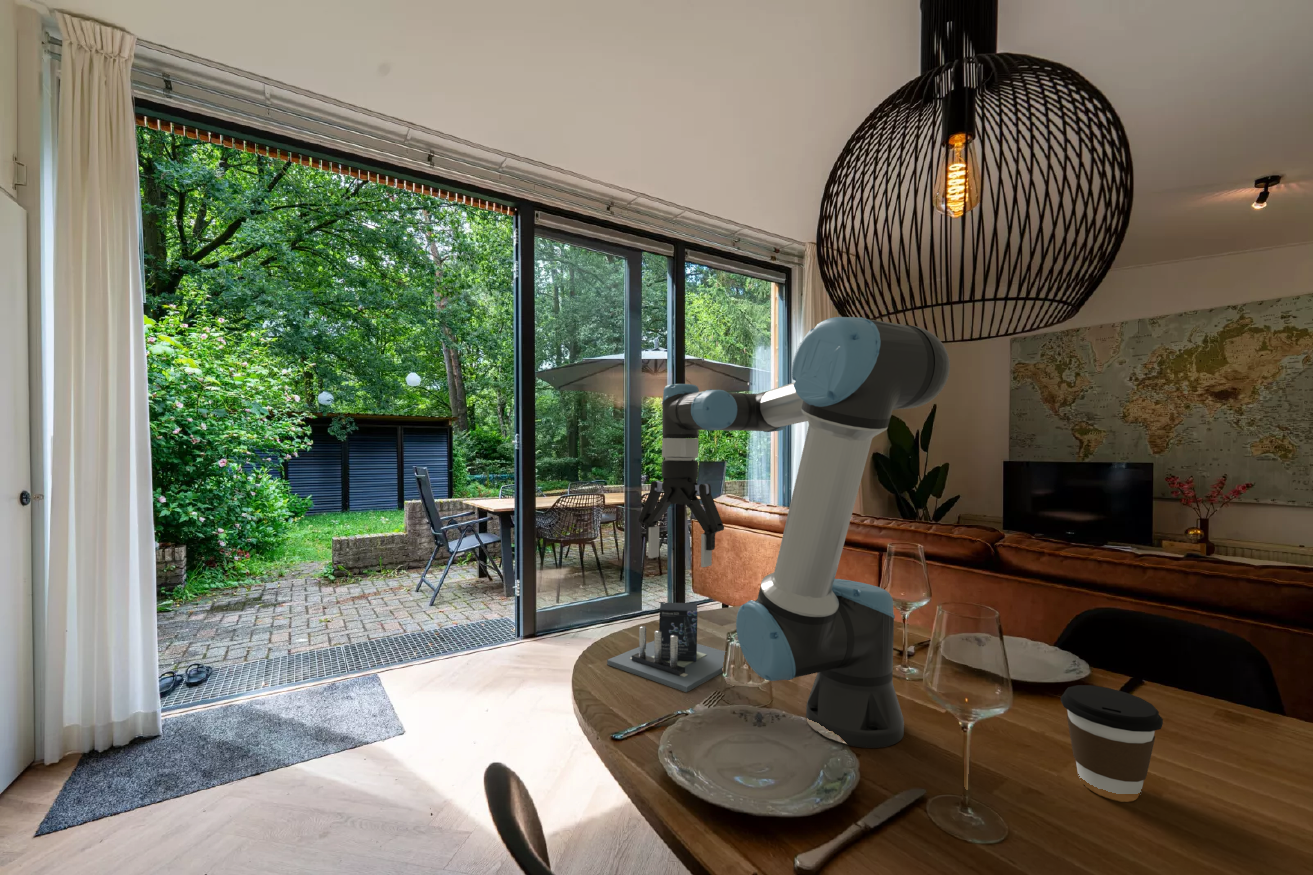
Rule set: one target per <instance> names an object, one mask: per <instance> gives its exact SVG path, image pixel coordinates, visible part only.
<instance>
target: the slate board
mask: <svg viewBox="0 0 1313 875" xmlns="http://www.w3.org/2000/svg"><path fill="white" fill-rule="evenodd" d="M654 644H655V639H654V640H652V641H650V642H646V656H650V657H653V658H654ZM725 652H726V651H725V650H722V649H718V648H714V647H710V646H706V645H703V644H699V643H697V660H696V662H693V661H677V665H678V666H681V667H684V668H685V673H683V674H681V675H680V676H677V675H674V674H671V673H668V672H665V671H662V670H659V669H656V668H653V667H650V666H647V665H644V664H641V663H638V662H635V661H632V655H634V654H637V653H639V646H637V647H635V648H632V649H630V650H627V651H625V652H623V653H620V654H618V655H616V656H613V657H611V658H608V659H607V662H606V665H607V666H609V667H613V668H616V669H618V670H621V671H624V672H627V673H630V674H633V675H634V676H635V675H636V676H639V677H641V678H645V679H647V680H650V681H654V682H656V683H659V684H662V685H665V686H667V687H671V688H673V689H676V690H679V691H682V692H685V693H688V692H690V691H691V690H693V689H695V688H697V687H699V686H700V685H702V684H704V683H706V682H708V681H710V680H711V679H713V678H715V677H717V676H718V675H721V674H722V673H723V672H722V668H723V662H724V655H725ZM662 661H665V662H668V663H670V660H662Z"/></svg>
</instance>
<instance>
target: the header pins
mask: <svg viewBox="0 0 1313 875" xmlns="http://www.w3.org/2000/svg"><path fill="white" fill-rule="evenodd" d="M638 628H639V631H638V633H639V635H638V637H639V640H638V647H639V653H637V654H634V655H632V661H635V662H638V663H641V664H644V665H647V666H650V667H653V668H656V669H659V670H662V671H665V672H668V673H671V674H674V675H677V676H680V675H681V674H683V673H685V668H684V667H681V666H678V665H677V656H678V635H671V644H670V663H668V662H665V661H662V660H661V646H662V631H660V630H659V629H657V630H656V629H655V630H654V640H655V644H654V658H653V657H650V656H646V644H647V626H645V625H640V626H639V627H638Z"/></svg>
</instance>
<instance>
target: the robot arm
mask: <svg viewBox="0 0 1313 875" xmlns="http://www.w3.org/2000/svg"><path fill="white" fill-rule="evenodd" d="M950 361H951V360H950V357H949V353H948V351H947V348H946V346H945V345H944V344H943V342H942V341H941V340H940V338H939V337H937V335H935V334H933V332H931V331H929V330H927V329H925V328H923V327H919V326H916V325H912V324H911V325H908V324H901V323H893V322H887V321H880V320H874V319H867V318H865V317H863V316H862V317H861V316H860V317H855V316H850V317H847V316H834V317H829V318H826V319H824V320H822V321H820V322H818V323H817V324H816V326H815V327H813V328H811V329H810V330H808V332H807V333H806V334H805V335H804V336H803V338H802V339H801V341H800V343H799V344H798V346H797V349H796V351H795V354H794V356H793V361H792V366H791V378H792V380H793V381H794V382H791V383H787V384H784V385H781V386H778V387H775V388H772V389H770V390H766V391H762V392H760V393H758V392H757V393H746V392H745V393H743V392H727V391H726V390H723V389H706V390H703V391H699V390H700V389H699V386H698V385H695V384H689V383H675V384H672V383H671V384H667V385H665V386H664V388H663V392H662V393H663V395H662V402H661V406H662V442H661V444H662V445H661V457H662V458H664V460H662V461H661V476H662V478H663V481H662V480H652V481H651V482H650V491H649V492H648V495H647V498H646V500H645V503H644V505H643V507H642V510H641V512H640V515H639V518H638V522H639V523H641V524H643V525H645V527H646V530H645V533H646V536H645V537H646V538H645V539H646V542H648V543H647V544H648V548H647V550H648V552H647V553H648V556H647V557H648V559H653V558H654V559H655V558H658V557H660V526H658V522H660V519H662V517H663V515H664V514H665V513H666V511H667V510H668V509H669V508H670V506H671V505H681V506H684V505H685V506H686V507H687V508H688V509H689V510H690V512H691V513H692V514H693V517H694V518H695V519H696V521H697V523H698V524H699V526H700V527H701V529H702V530H703V533H701V534H700V535H701V536H700V537H701V540H700V541H701V543H700V546H701V547H700V567H701V568H707V567H712V565H713V564H712V563H713V561H712V559H713V556H712V554H713V551H714V550H715V548H716V534H717V533H719V532H722V531H724V530H725V526H724V523H723V521H722V518H721V516H720V513H719V511H718V508H717V506H716V504H715V500H714V498H713V496H712V486H711V484H710V483H701V484H698V482H697V479H698V477H699V462H698V460H696V458H698V457H699V431H710V432H711V431H732V432H733V431H743V432H744V431H747V432H751V431H752V432H764V433H771V432H772V433H773V432H781V431H783V430H785V429H786V427H787V426H791V425H795V424H801V423H806V422H808V427H807V431H806V436H805V441H804V443H803V444H804V445H803V450H802V454H801V458H800V460H799V464H798V469H797V474H796V477H795V478H796V479H795V483H794V486H793V492H792V495H791V500H790V504H789V508H788V512H787V516H786V520H785V525H784V529H783V533H782V538H781V542H780V547H779V550H778V555H777V558H776V563H775V568H774V571H773V572H772V573H770V574H767V575H766V576H764V577H763V578H762V580H761V582H760V586H759V587H760V588H759V589H758V590H759V591H758V595H757V597H756V598H757V599H756V600H751V599H750V600H747V602H745V603H743V604H742V605H740V607H739V609H738V610H737V614H736V619H735V620H736V621H735V623H736V624H735V626H736V628H735V629H736V635H737V641H738V644H739V646H740V650H741V652H742V656H743V657H744V659H745V661H746V662H747V664H748V666H750V668H751V669H752V670H753V672H755V674H756V675H757V676H759V677H760V678H762V679H763V680H766V681H770V682H775V681H791V680H794V679H797V678H799V677H803V676H805V677H806V676H808V675H813V674H816V676H815V679H814V682H813V684H812V688H811V690H810V693H809V696H808V698H807V702H806V705H805V706H806V708H805V710H806V713H805V717H807V718H808V719H809V720H812V721H814V722H817V723H819V724H820V725H821V726H824V727H825V728H826V729H828V730H829V731H833V732H834V733H835V734H837V735H839V736H840V737H841V738H842V739H843V740H844V741H845V742H846V743H847V744H848V745H847V746H850V747H856V748H866V749H867V748H868V749H877V748H878V749H879V748H885V747H891V746H893V745H896V744H897V743H899V742H900V741H901V740H902V739H903V738H904V734H905V731H904V730H905V720H904V719H905V718H904V715H903V712H902V709H901V705H900V703H899V699H898V696H897V693H896V690H895V687H894V683H893V677H894V676H893V668H894V667H893V666H894V637H895V636H894V635H895V634H894V632H895V631H894V630H895V618H896V617H895V614H894V612H895V611H894V600H893V597H892V595H891V593H890V592H889V591H887V590H886V589H884V588H883V587H879V586H875V585H874V584H873V585H872V584H869V583H865V582H860V581H856V580H855V581H854V580H849V579H843V578H842V579H841V578H836V575H837V572H838V568H839V564H840V561H841V557H842V553H843V549H844V545H845V541H846V538H847V534H848V531H849V528H850V523H851V520H852V516H853V512H854V508H855V505H856V501H857V497H858V493H859V489H860V485H861V481H862V479H863V475H864V471H865V468H866V463H867V460H868V456H869V452H870V448H871V446H872V441H873V438H875V437H876V436H878V435H880V434H881V433H883V432H885V431H887V430H888V428H889V424H890V421H891V417H892V415H893V414H892V413H893V411H894V410H900V409H901V410H904V409H905V410H907V409H915V408H919V407H922V406H924V405H926V404H928V403H930V402H931V401H933V400H934V399H936V398H937V396H938V395H939V394H940V393H941V392H942V391H943V389H944V387H946V386H945V385H947V381H948V380H949V376H950V369H951V364H950V363H951V362H950ZM662 491H663V495H662V496H661V494H662ZM697 495H699V498H700V499H699V498H698V496H697ZM660 496H661V498H660ZM658 501H659V502H658ZM701 503H702V505H701Z"/></svg>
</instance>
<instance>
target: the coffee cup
mask: <svg viewBox="0 0 1313 875" xmlns="http://www.w3.org/2000/svg"><path fill="white" fill-rule="evenodd" d="M1060 702H1061V704H1062V706H1063V708H1065V709H1066V711H1067V715H1066V719H1067V726H1068V732H1069V739H1070V743H1071V749H1072V754H1073V755H1072V756H1073V758H1074V760H1075V763H1076V770H1077V775H1078V774H1079V775H1078V777H1079V776H1080V777H1079V779H1080V778H1082V779H1083V780H1085V781H1086V782H1087V783H1089V784H1090V785H1093V786H1094V787H1097V788H1098V789H1103V790H1106V791H1108V792H1112V793H1116V794H1138V793H1140V792H1141V793H1142V791H1141V789H1143V785H1144V781H1145V780H1146V778H1147V776H1148V771H1149V767H1150V762H1151V758H1152V753H1153V749H1154V744H1155V739H1156V736H1155V732H1156V731H1159V730H1161V729H1162V727H1163V725H1164V719H1163V718H1162V716H1161V715H1160V714H1159V713H1160V711H1159V710H1158V709H1157V708H1156V707H1155V706H1154V705H1153V704H1152V703H1150V702H1148V701H1147V700H1145V699H1143V698H1141V697H1139V696H1138V695H1137V696H1136V695H1133V694H1131V693H1128V692H1125V691H1122V690H1119V689H1118V690H1117V689H1115V688H1110V687H1106V686H1105V687H1104V686H1098V685H1089V684H1088V685H1087V684H1086V685H1083V684H1080V685H1079V684H1077V685H1072V686H1068V687H1067V688H1066V689H1065V691H1064V692H1063V693H1062V695H1061V696H1060Z"/></svg>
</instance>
